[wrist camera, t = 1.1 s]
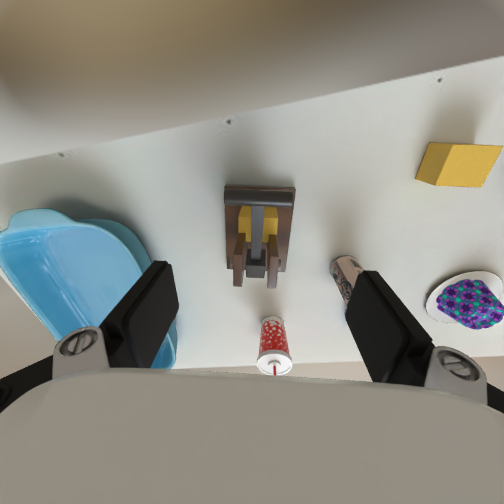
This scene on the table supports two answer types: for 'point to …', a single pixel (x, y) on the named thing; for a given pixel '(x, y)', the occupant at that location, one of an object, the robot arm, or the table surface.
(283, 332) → the beverage cup
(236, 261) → the slicer
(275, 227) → the butter
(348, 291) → the supplement bottle
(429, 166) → the butter pat
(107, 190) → the table surface
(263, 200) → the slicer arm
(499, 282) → the pudding
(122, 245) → the casserole dish
